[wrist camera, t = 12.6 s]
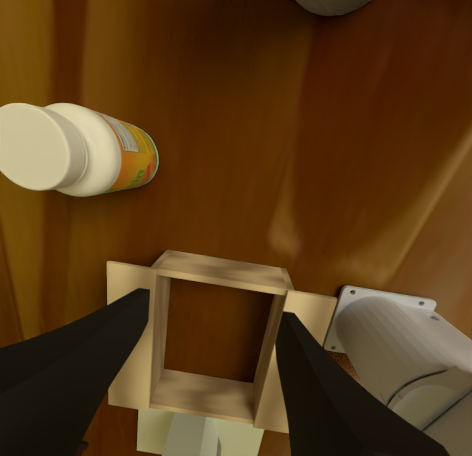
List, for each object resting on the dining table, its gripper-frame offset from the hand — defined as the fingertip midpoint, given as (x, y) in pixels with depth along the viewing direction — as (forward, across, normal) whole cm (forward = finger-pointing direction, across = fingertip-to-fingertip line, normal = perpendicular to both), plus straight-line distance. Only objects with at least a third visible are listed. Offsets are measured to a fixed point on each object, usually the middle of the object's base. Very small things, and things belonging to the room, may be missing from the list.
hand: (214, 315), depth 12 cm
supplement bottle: (+11, +10, -7) cm, 16 cm away
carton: (+10, 0, +10) cm, 14 cm away
